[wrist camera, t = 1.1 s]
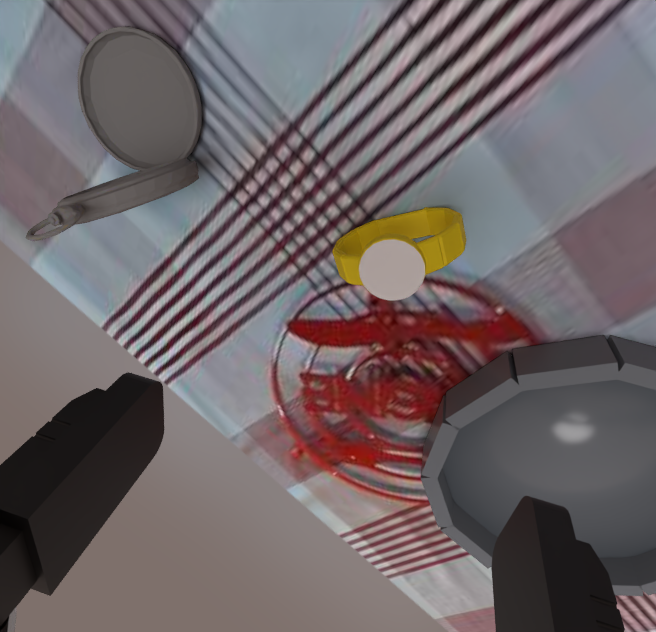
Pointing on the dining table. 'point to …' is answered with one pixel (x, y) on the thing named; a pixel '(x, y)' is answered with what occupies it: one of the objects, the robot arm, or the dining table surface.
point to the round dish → (553, 451)
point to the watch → (400, 251)
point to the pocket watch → (133, 124)
